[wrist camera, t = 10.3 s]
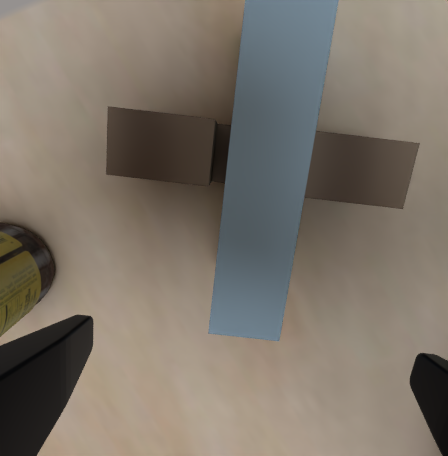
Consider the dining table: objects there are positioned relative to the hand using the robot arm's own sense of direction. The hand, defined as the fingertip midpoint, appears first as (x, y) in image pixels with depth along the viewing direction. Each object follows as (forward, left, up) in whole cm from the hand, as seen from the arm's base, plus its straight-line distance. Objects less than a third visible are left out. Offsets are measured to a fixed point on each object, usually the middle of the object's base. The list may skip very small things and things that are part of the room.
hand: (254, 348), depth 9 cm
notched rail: (0, -5, -12) cm, 13 cm away
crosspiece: (0, -5, -12) cm, 13 cm away
